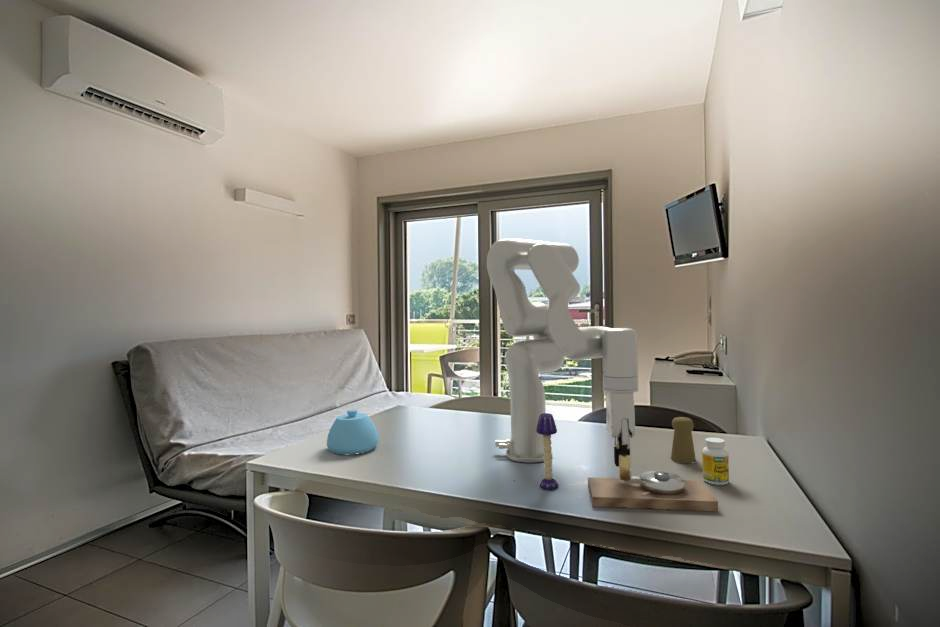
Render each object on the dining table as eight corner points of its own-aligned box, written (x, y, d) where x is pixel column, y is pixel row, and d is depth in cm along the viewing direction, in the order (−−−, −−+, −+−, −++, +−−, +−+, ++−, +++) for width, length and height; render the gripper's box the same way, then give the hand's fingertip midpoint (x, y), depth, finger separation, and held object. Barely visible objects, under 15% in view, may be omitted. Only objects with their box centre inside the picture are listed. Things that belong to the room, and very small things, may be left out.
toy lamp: (558, 491, 106) (556, 416, 106) (537, 491, 107) (535, 416, 106) (558, 483, 111) (556, 412, 110) (538, 482, 112) (536, 411, 111)
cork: (698, 464, 121) (698, 420, 121) (673, 463, 123) (672, 420, 122) (692, 456, 127) (692, 415, 127) (668, 455, 129) (667, 414, 128)
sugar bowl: (375, 439, 152) (374, 403, 152) (382, 453, 138) (381, 413, 137) (326, 445, 147) (325, 407, 147) (327, 459, 133) (326, 418, 133)
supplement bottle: (717, 476, 113) (716, 435, 113) (734, 484, 108) (734, 441, 108) (697, 478, 112) (696, 437, 112) (714, 487, 107) (713, 444, 106)
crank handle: (678, 478, 106) (677, 450, 106) (690, 495, 97) (690, 464, 97) (616, 476, 108) (615, 449, 108) (622, 492, 99) (622, 462, 99)
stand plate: (592, 506, 98) (592, 495, 98) (588, 486, 109) (587, 476, 109) (718, 511, 94) (717, 500, 94) (700, 489, 105) (700, 479, 105)
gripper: (599, 378, 115) (600, 454, 115) (607, 389, 100) (609, 477, 100) (631, 378, 113) (633, 455, 114) (645, 389, 99) (647, 478, 99)
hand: (622, 465), depth 107 cm, fingers closed
